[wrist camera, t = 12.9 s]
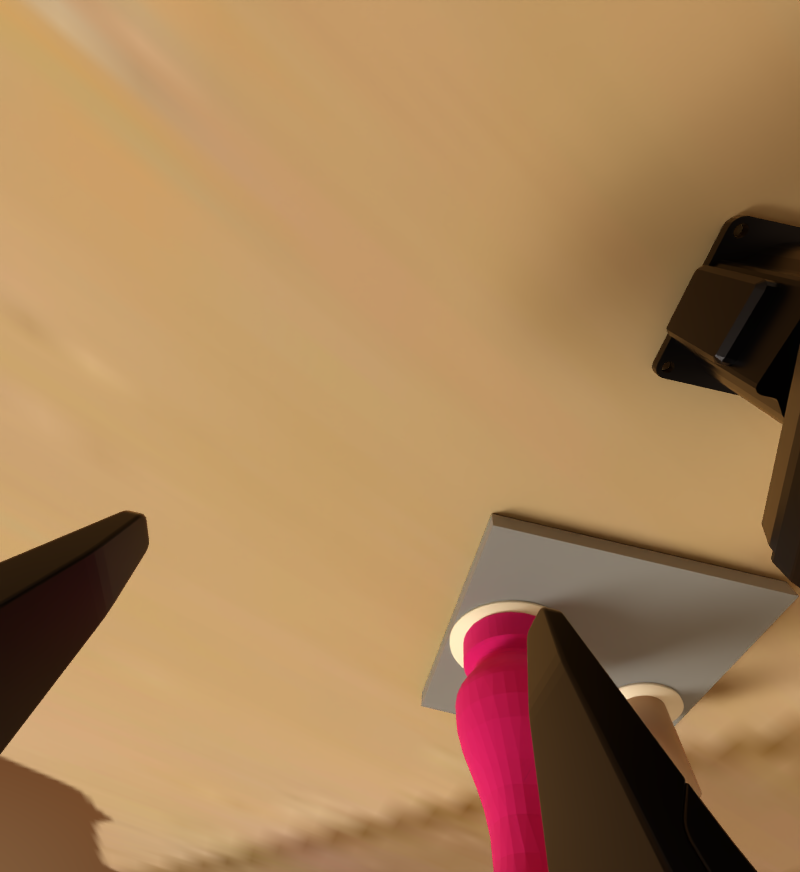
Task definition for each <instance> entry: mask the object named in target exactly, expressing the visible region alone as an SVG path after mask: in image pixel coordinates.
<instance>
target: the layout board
mask: <svg viewBox="0 0 800 872" xmlns="http://www.w3.org/2000/svg"><path fill="white" fill-rule="evenodd" d="M798 597H799V596H798V595H797V594H796V592H795V591H794V590H793V589H792V588H791V587H790V586H789V584H788V583H787V582H784V581H780V580H775V579H771V578H767V577H762V576H758V575H754V574H749V573H745V572H741V571H737V570H732V569H728V568H724V567H719V566H715V565H711V564H706V563H702V562H698V561H693V560H689V559H685V558H681V557H676V556H672V555H668V554H663V553H659V552H655V551H650V550H646V549H642V548H637V547H633V546H629V545H625V544H620V543H616V542H612V541H607V540H603V539H599V538H594V537H590V536H586V535H581V534H577V533H573V532H569V531H564V530H560V529H556V528H551V527H547V526H543V525H538V524H534V523H530V522H525V521H521V520H517V519H513V518H508V517H504V516H500V515H495V514H491V517H490V519H489V522H488V524H487V527H486V530H485V532H484V535H483V537H482V540H481V543H480V545H479V548H478V550H477V553H476V555H475V558H474V561H473V563H472V566H471V568H470V571H469V573H468V576H467V579H466V581H465V584H464V586H463V589H462V592H461V594H460V597H459V599H458V602H457V604H456V607H455V610H454V612H453V615H452V617H451V620H450V623H449V625H448V628H447V630H446V633H445V635H444V638H443V641H442V643H441V646H440V648H439V651H438V654H437V656H436V659H435V661H434V664H433V666H432V669H431V672H430V674H429V677H428V679H427V682H426V684H425V687H424V690H423V692H422V704H421V706H423V707H428V708H432V709H436V710H440V711H444V712H449V713H453V714H456V709H455V705H456V698H457V693H458V691H459V689H460V687H461V685H462V683H463V682H464V680H465V679H466V678H467V676H466V674H465V671H464V663H463V642H464V637H465V635H466V633H467V631H468V630H469V629H470V628H471V626H472V625H473V624H474V623H476V622H477V621H479V620H481V619H482V618H484V617H487V616H490V615H493V614H497V613H503V612H519V613H526V614H530V615H534V616H536V615H537V613H538V612H539V610H540V609H541V608H542V607H547V608H551V609H555V610H559V611H561V612H562V613H563V614H564V615H565V617H566V618H567V620H568V621H569V622H570V624H571V625H572V626H573V628H574V629H575V630H576V632H577V633H578V634H579V636H580V637H581V638H582V640H583V641H584V642H585V644H586V645H587V647H588V648H589V649H590V651H591V652H592V653H593V655H594V656H595V657H596V659H597V660H598V661H599V663H600V664H601V665H602V667H603V668H604V669H605V671H606V672H607V674H608V675H609V676H610V678H611V679H612V680H613V682H614V683H615V684H616V686H617V687H618V688H619V690H620V691H621V692H622V694H623V695H624V696H625V698H626V699H627V701H628V702H629V703H630V705H631V706H632V707H633V709H634V710H635V711H636V713H637V714H638V715H639V717H640V718H641V719H642V721H643V722H644V723H645V725H646V726H647V728H648V729H649V730H650V732H651V733H652V734H653V736H654V737H655V738H656V740H657V741H658V742H659V744H660V745H661V746H662V748H663V749H664V750H665V752H666V753H667V755H668V756H669V757H670V759H671V760H672V761H673V763H674V764H675V765H676V767H677V768H678V769H679V771H680V772H681V773H682V775H683V776H684V778H685V780H686V783H689V784H690V785H691V787H692V788H693V789H694V791H695V792H696V793H697V795H698V796H699V798H700V796H701V790H700V787H699V785H698V783H697V780H696V778H695V775H694V773H693V771H692V768H691V766H690V763H689V761H688V759H687V756H686V754H685V751H684V749H683V747H682V744H681V742H680V739H679V737H678V735H677V732H676V730H675V727H674V726H675V725H676V724H677V723H678V722H679V721H680V720H681V719H682V718H683V717H684V716H685V715H686V714H687V713H688V712H689V711H690V709H691V708H692V707H693V706H694V705H695V704H696V703H697V702H698V701H699V700H700V699H701V698H702V697H703V696H704V695H705V694H706V693H707V692H708V691H709V690H710V689H711V688H712V687H713V685H714V684H715V683H716V682H717V681H718V680H719V679H720V678H721V677H722V676H723V675H724V674H725V673H726V672H727V671H728V670H729V669H730V668H731V667H732V666H733V665H734V664H735V662H736V661H737V660H738V659H739V658H740V657H741V656H742V655H743V654H744V653H745V652H746V651H747V650H748V649H749V648H750V647H751V646H752V645H753V644H754V643H755V642H756V641H757V640H758V638H759V637H760V636H761V635H762V634H763V633H764V632H765V631H766V630H767V629H768V628H769V627H770V626H771V625H772V624H773V623H774V622H775V621H776V620H777V619H778V618H779V617H780V615H781V614H782V613H783V612H784V611H785V610H786V609H787V608H788V607H789V606H790V605H791V604H792V603H793V602H794V601H795V600H796V599H797V598H798Z"/></svg>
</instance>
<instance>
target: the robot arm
mask: <svg viewBox="0 0 800 872" xmlns="http://www.w3.org/2000/svg"><path fill="white" fill-rule="evenodd" d="M739 224H741V225H742V227H743V229H742V232H741V233H740V234H739V235H738V236H737V237H734V234H733V232H734V229H735V228H736V226H738V225H739ZM667 332H668V334H667V336H666V338H665V340H664V342H663V344H662V346H661V348H660V350H659V352H658V354H657V356H656V358H655V360H654V362H653V365H652V368H653V371H654V372H655V373H656V374H657V375H658V376H660V377H662V378H665V379H670V380H674V381H678V382H683V383H687V384H692V385H696V386H700V387H705V388H709V389H713V390H718V391H722V392H727V393H731V394H735V395H740V396H741V397H743V398H744V399H746V400H747V401H749V402H750V403H752V404H753V405H755V406H756V407H757V408H759V409H760V410H762V411H763V412H765V413H766V414H768V415H769V416H771V417H772V418H774V419H775V420H777V421H778V422H780V423H781V424H783V426H782V431H781V435H780V440H779V445H778V449H777V454H776V459H775V463H774V468H773V473H772V478H771V482H770V487H769V492H768V496H767V501H766V506H765V510H764V515H763V520H762V527H763V529H764V532H765V535H766V538H767V541H768V544H769V546H770V548H771V549H772V550H773V552H772V557H771V559H772V562H773V563H774V564H775V565H776V566H777V567H778V568H779V569H780V570H781V572H782V573H783V574H784V575H785V576H786V577H787V578H788V579H789V580H790V581H791V582H793V583H794V584H795V585H797V586H798V587H799V588H800V228H799V227H795V226H790V225H786V224H782V223H777V222H773V221H768V220H764V219H759V218H755V217H750V216H735V217H733V218H731V219H729V220H728V221H727V222H726V223H725V224H724V226H723V227H722V229H721V231H720V233H719V235H718V237H717V238H716V240H715V242H714V244H713V246H712V248H711V250H710V252H709V254H708V256H707V258H706V260H705V262H704V264H703V266H701V267H700V268H698V269H697V270H696V271H695V273H694V275H693V277H692V279H691V281H690V282H689V284H688V286H687V288H686V290H685V292H684V294H683V296H682V298H681V300H680V302H679V304H678V306H677V308H676V310H675V312H674V314H673V316H672V318H671V320H670V322H669V324H668V326H667ZM667 362H671V364H670V366H669V368H667V369H665V370H662V366H663V365H664V364H665V363H667ZM148 545H149V536H148V528H147V520H146V517H145V516H144V515H143V514H141V513H137V512H132V511H122V512H119V513H117V514H115V515H112V516H110V517H107V518H105V519H103V520H100V521H98V522H96V523H93V524H91V525H88V526H86V527H84V528H81V529H79V530H76V531H74V532H72V533H69V534H67V535H64V536H62V537H60V538H57V539H55V540H53V541H50V542H48V543H45V544H43V545H41V546H38V547H36V548H33V549H31V550H29V551H26V552H24V553H22V554H19V555H17V556H14V557H12V558H10V559H7V560H5V561H2V562H0V754H1V753H2V751H3V750H4V749H5V747H6V746H7V745H8V743H9V742H10V741H11V740H12V738H13V737H14V736H15V734H16V733H17V732H18V730H19V729H20V728H21V726H22V725H23V724H24V723H25V721H26V720H27V719H28V717H29V716H30V715H31V713H32V712H33V711H34V709H35V708H36V707H37V706H38V704H39V703H40V702H41V700H42V699H43V698H44V696H45V695H46V694H47V692H48V691H49V690H50V689H51V687H52V686H53V685H54V683H55V682H56V681H57V679H58V678H59V677H60V675H61V674H62V673H63V671H64V670H65V669H66V668H67V666H68V665H69V664H70V662H71V661H72V660H73V658H74V657H75V656H76V654H77V653H78V652H79V651H80V649H81V648H82V647H83V645H84V644H85V643H86V641H87V640H88V639H89V637H90V636H91V635H92V634H93V632H94V631H95V630H96V628H97V627H98V626H99V624H100V623H101V622H102V620H103V619H104V618H105V616H106V615H107V613H108V612H109V610H110V609H111V607H112V606H113V604H114V603H115V601H116V600H117V598H118V596H119V595H120V593H121V591H122V590H123V588H124V587H125V585H126V583H127V582H128V580H129V578H130V577H131V575H132V574H133V572H134V570H135V569H136V567H137V566H138V564H139V562H140V561H141V559H142V557H143V556H144V554H145V552H146V551H147V548H148ZM527 664H528V705H529V719H530V728H531V736H532V744H533V752H534V760H535V768H536V776H537V784H538V791H539V799H540V807H541V815H542V823H543V831H544V839H545V847H546V855H547V863H548V871H549V872H757V871H756V869H755V868H754V867H753V866H752V864H751V863H750V862H749V861H748V860H747V858H746V857H745V856H744V855H743V853H742V852H741V851H740V850H739V848H738V847H737V846H736V845H735V843H734V842H733V841H732V840H731V838H730V837H729V836H728V834H727V833H726V832H725V830H724V829H723V828H722V827H721V825H720V824H719V823H718V821H717V820H716V819H715V817H714V816H713V815H712V813H711V812H710V811H709V810H708V808H707V807H706V806H705V804H704V803H703V802H702V800H701V799H700V798H699V796H698V795H697V793H696V792H695V791H694V789H693V788H692V787H691V785H690V784H689V783H686V780H685V778H684V776H683V775H682V773H681V772H680V771H679V769H678V768H677V767H676V765H675V764H674V763H673V761H672V760H671V759H670V757H669V756H668V755H667V753H666V752H665V750H664V749H663V748H662V746H661V745H660V744H659V742H658V741H657V740H656V738H655V737H654V736H653V734H652V733H651V732H650V730H649V729H648V728H647V726H646V725H645V723H644V722H643V721H642V719H641V718H640V717H639V715H638V714H637V713H636V711H635V710H634V709H633V707H632V706H631V705H630V703H629V702H628V701H627V699H626V698H625V696H624V695H623V694H622V692H621V691H620V690H619V688H618V687H617V686H616V684H615V683H614V682H613V680H612V679H611V678H610V676H609V675H608V674H607V672H606V671H605V669H604V668H603V667H602V665H601V664H600V663H599V661H598V660H597V659H596V657H595V656H594V655H593V653H592V652H591V651H590V649H589V648H588V647H587V645H586V644H585V642H584V641H583V640H582V638H581V637H580V636H579V634H578V633H577V632H576V630H575V629H574V628H573V626H572V625H571V624H570V622H569V621H568V620H567V618H566V617H565V615H564V614H563V613H562V612H561V611H559V610H555V609H551V608H547V607H542V608H541V609H540V610H539V612H538V613H537V615H536V617H535V619H534V621H533V623H532V625H531V627H530V629H529V631H528V635H527Z"/></svg>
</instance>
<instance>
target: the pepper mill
mask: <svg viewBox="0 0 800 872" xmlns="http://www.w3.org/2000/svg"><path fill="white" fill-rule="evenodd" d="M535 617H536V616H534V615H530V614H526V613H519V612H503V613H497V614H493V615H490V616H487V617H484V618H482V619H481V620H479V621H477V622H476V623H474V624H473V625H472V626H471V628H470V629H469V630H468V631H467V633H466V635H465V637H464V642H463V663H464V671H465V674H466V676H467V678H466V679H465V680H464V682H463V683H462V685H461V687H460V689H459V691H458V693H457V698H456V705H455V709H456V721H457V731H458V736H459V739H460V743H461V747H462V751H463V754H464V757H465V760H466V762H467V765H468V767H469V770H470V772H471V775H472V777H473V780H474V782H475V785H476V787H477V790H478V793H479V796H480V799H481V802H482V805H483V808H484V812H485V816H486V820H487V825H488V829H489V834H490V839H491V849H492V859H493V868H494V872H549V871H548V863H547V855H546V847H545V839H544V831H543V823H542V815H541V807H540V799H539V791H538V784H537V776H536V768H535V760H534V752H533V744H532V736H531V728H530V719H529V705H528V664H527V635H528V631H529V629H530V627H531V625H532V623H533V621H534V619H535Z"/></svg>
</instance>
